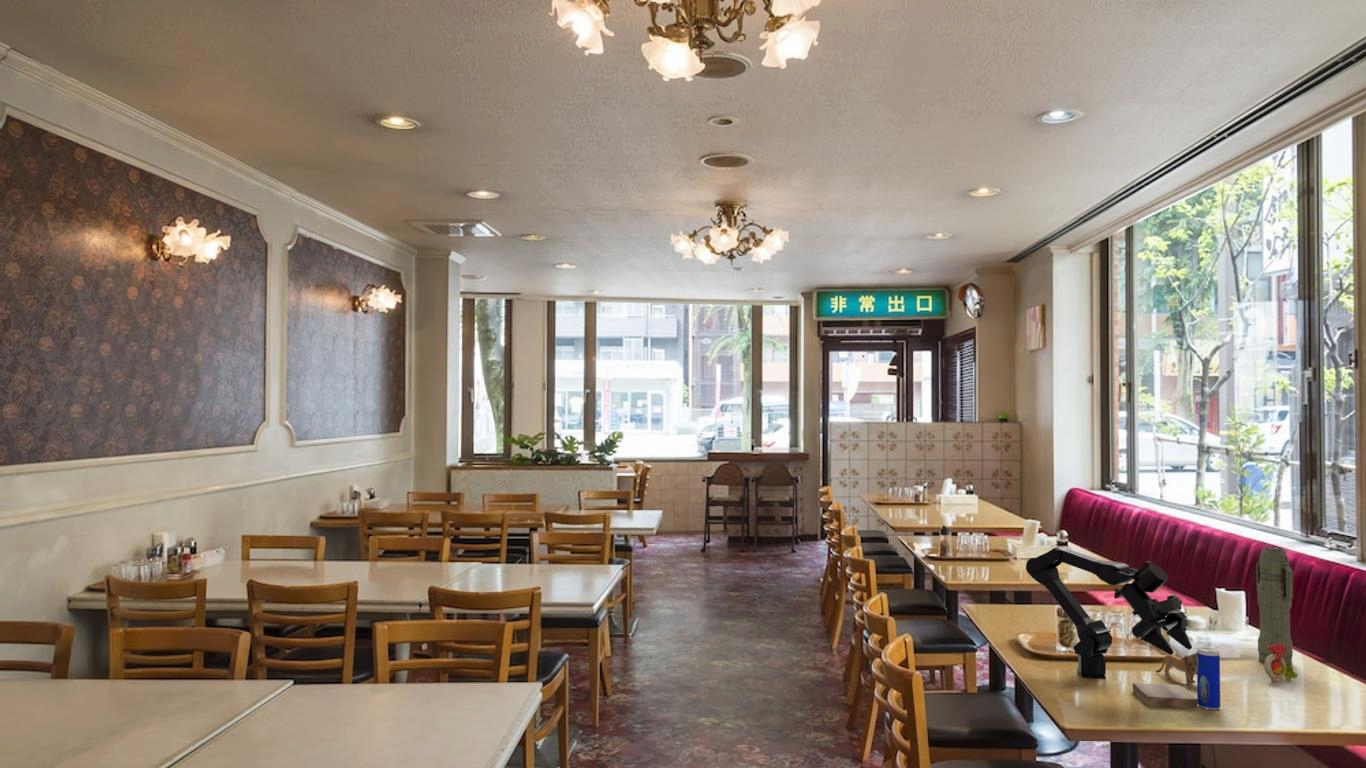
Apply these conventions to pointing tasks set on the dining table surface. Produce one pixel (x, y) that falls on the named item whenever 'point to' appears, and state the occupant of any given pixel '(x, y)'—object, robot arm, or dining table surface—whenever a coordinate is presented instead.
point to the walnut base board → (1164, 695)
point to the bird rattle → (1278, 664)
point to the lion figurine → (1181, 666)
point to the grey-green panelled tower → (1274, 601)
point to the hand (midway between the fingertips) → (1181, 651)
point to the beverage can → (1208, 678)
